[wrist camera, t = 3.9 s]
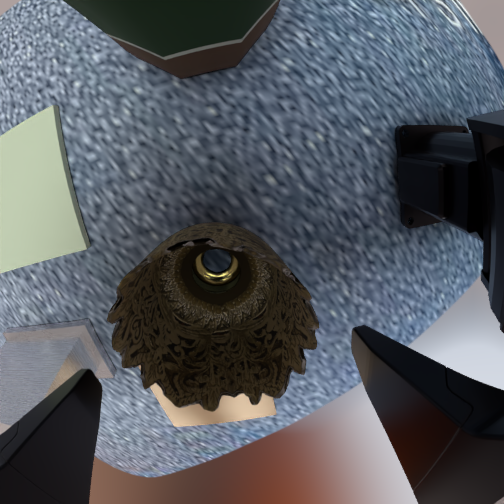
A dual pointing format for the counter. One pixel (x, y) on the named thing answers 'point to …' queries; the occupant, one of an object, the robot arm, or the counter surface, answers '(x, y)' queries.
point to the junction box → (45, 363)
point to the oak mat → (226, 411)
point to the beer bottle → (182, 30)
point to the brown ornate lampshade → (213, 319)
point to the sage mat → (37, 194)
